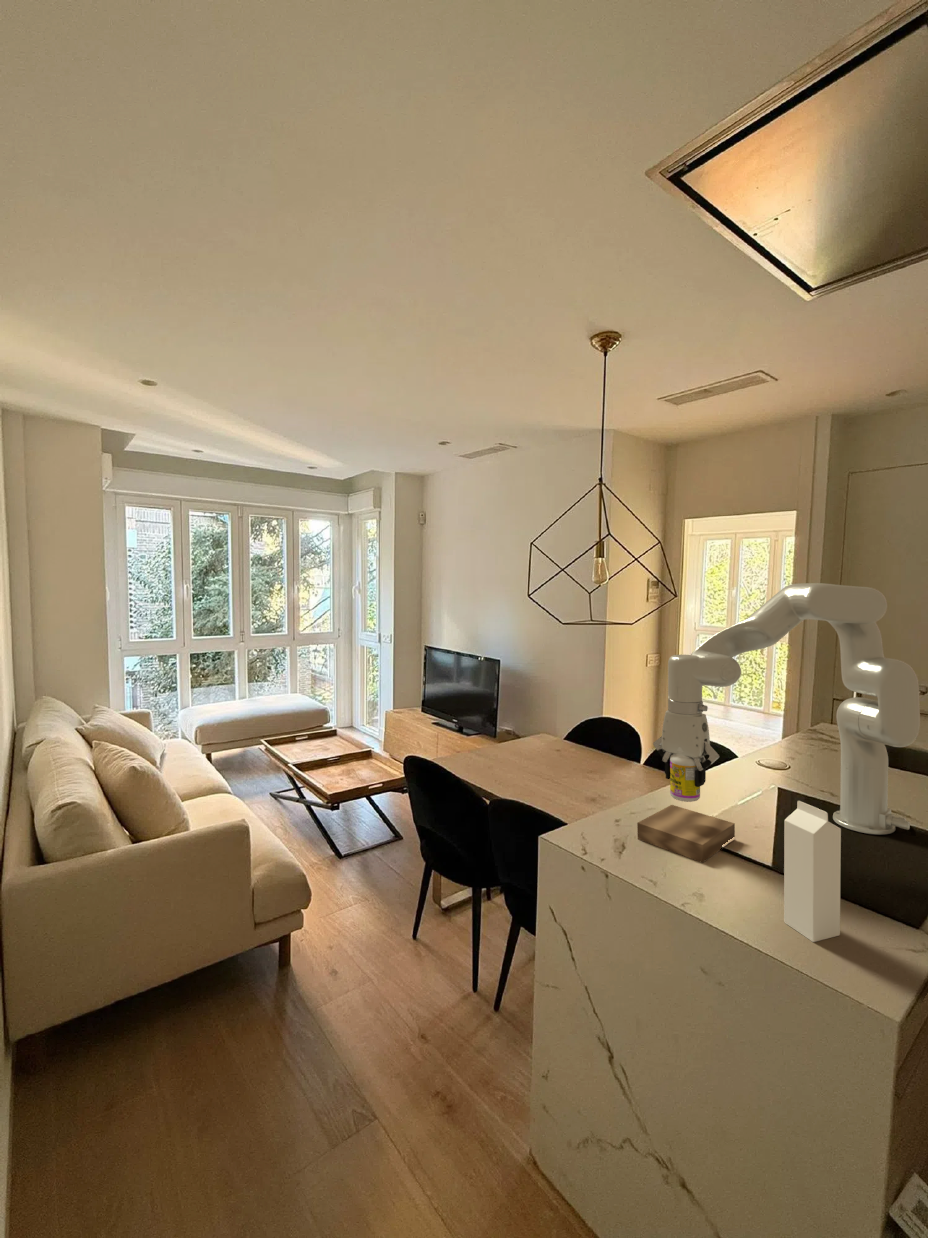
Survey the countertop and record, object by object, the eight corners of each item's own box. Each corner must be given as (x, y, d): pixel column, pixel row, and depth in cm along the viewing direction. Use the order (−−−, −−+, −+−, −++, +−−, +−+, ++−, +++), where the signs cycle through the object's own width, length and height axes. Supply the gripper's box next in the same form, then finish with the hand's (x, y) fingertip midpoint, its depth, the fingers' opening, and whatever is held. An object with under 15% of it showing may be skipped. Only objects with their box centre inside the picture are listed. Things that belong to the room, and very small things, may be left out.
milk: (813, 943, 93) (813, 815, 92) (783, 922, 99) (783, 802, 98) (840, 935, 95) (841, 810, 94) (809, 916, 101) (810, 797, 100)
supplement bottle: (665, 793, 135) (665, 741, 134) (691, 791, 136) (691, 740, 135) (678, 803, 128) (677, 749, 128) (705, 802, 129) (705, 747, 128)
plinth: (734, 839, 132) (734, 823, 131) (702, 862, 121) (702, 845, 121) (671, 819, 144) (671, 804, 144) (637, 839, 133) (637, 822, 133)
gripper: (729, 710, 127) (728, 787, 128) (659, 700, 140) (659, 769, 141) (713, 715, 122) (713, 795, 123) (643, 704, 135) (643, 776, 136)
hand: (684, 781), depth 132 cm, fingers closed on supplement bottle, 6 cm apart
